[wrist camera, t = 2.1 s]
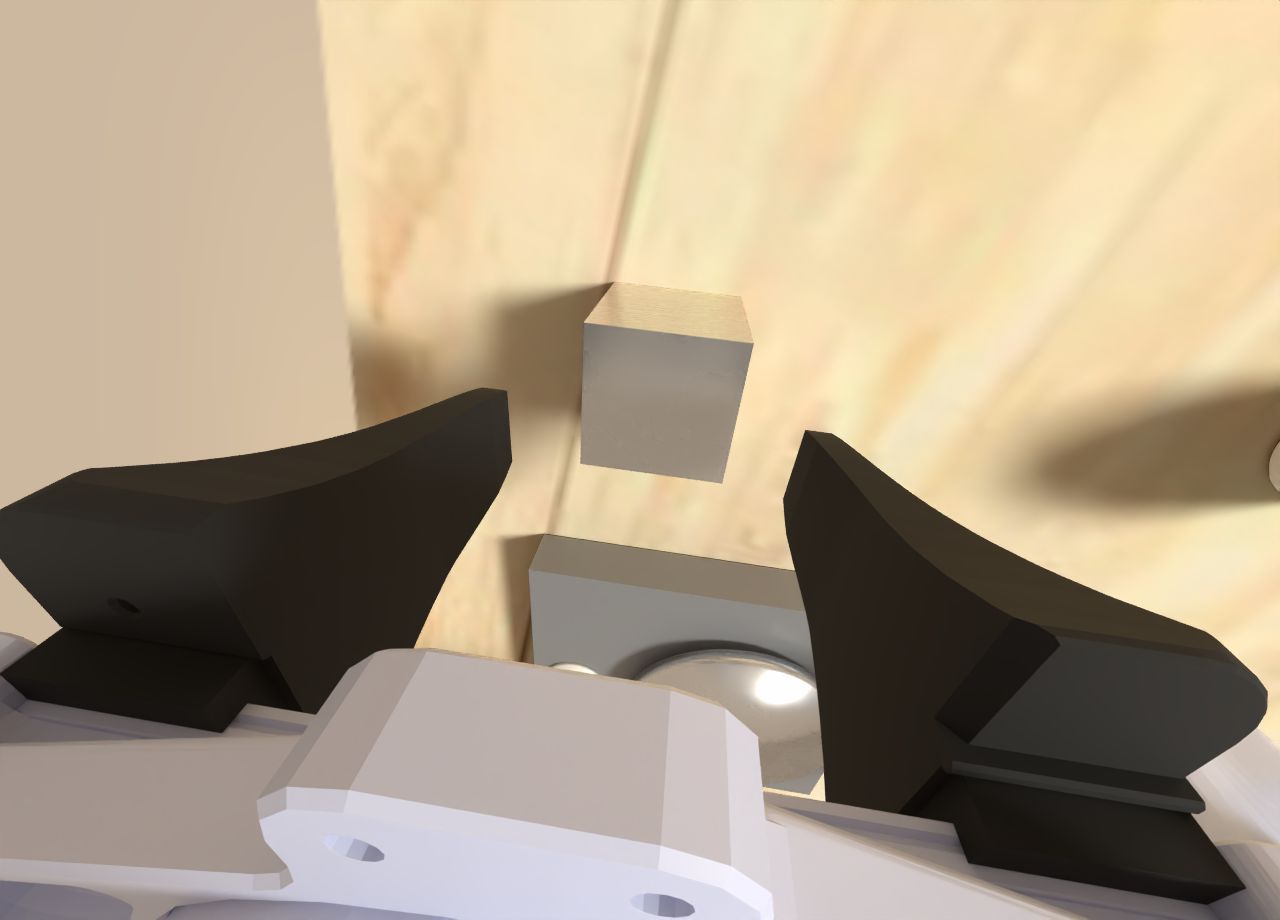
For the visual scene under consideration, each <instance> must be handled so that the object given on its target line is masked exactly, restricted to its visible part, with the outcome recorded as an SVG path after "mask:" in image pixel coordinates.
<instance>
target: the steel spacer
mask: <svg viewBox="0 0 1280 920" xmlns="http://www.w3.org/2000/svg"><path fill="white" fill-rule="evenodd" d="M753 344H754V343H753V339H752V335H751V332H750V328H749V324H748V320H747V317H746V313H745V309H744V306H743V302H742V298H741V297H737V296H729V295H721V294H712V293H704V292H695V291H687V290H678V289H670V288H662V287H653V286H645V285H636V284H628V283H619V282H614V283H613V285H612V286H611V287H610V289H609V290H608V291H607V292H606V294H605V295H604V296H603V298H602V299H601V300H600V302H599V303H598V304H597V306H596V307H595V308H594V309H593V311H592V312H591V313H590V315H589V316H588V317H587V319H586V320H585V321H584V325H583V370H582V416H581V462H580V464H587V465H594V466H601V467H608V468H615V469H622V470H630V471H637V472H644V473H651V474H658V475H665V476H673V477H680V478H687V479H694V480H701V481H708V482H716V483H722V482H723V477H724V473H725V468H726V464H727V460H728V455H729V451H730V446H731V442H732V437H733V433H734V429H735V424H736V420H737V415H738V411H739V406H740V402H741V397H742V393H743V389H744V384H745V380H746V375H747V371H748V366H749V362H750V358H751V353H752V349H753Z"/></svg>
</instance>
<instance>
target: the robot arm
mask: <svg viewBox="0 0 1280 920" xmlns="http://www.w3.org/2000/svg"><path fill="white" fill-rule="evenodd" d="M511 463H512V452H511V438H510V425H509V412H508V398H507V391H504V390H497V389H489V388H479V389H475V390H471V391H468V392H465V393H462V394H460V395H457V396H454V397H452V398H449V399H446V400H444V401H441V402H439V403H436V404H433V405H431V406H428V407H426V408H423V409H420V410H418V411H415V412H413V413H410V414H407V415H404V416H401V417H398V418H395V419H392V420H390V421H387V422H384V423H381V424H378V425H375V426H372V427H369V428H366V429H362V430H359V431H355V432H352V433H348V434H344V435H340V436H337V437H333V438H329V439H325V440H321V441H317V442H312V443H306V444H301V445H297V446H291V447H286V448H281V449H275V450H270V451H265V452H259V453H253V454H246V455H239V456H231V457H224V458H215V459H207V460H198V461H188V462H178V463H166V464H151V465H137V466H124V467H108V468H90V469H86V470H82V471H79V472H76V473H73V474H71V475H69V476H67V477H65V478H63V479H61V480H59V481H57V482H55V483H53V484H51V485H49V486H47V487H44V488H43V489H40V490H39V491H37V492H34V493H33V494H31V495H28V496H26V497H24V498H22V499H21V500H18V501H16V502H14V503H12V504H10V505H8V506H6V507H4V508H2V509H1V510H0V559H1V560H2V562H3V563H4V564H5V566H6V567H7V568H8V569H9V571H10V572H11V573H12V574H13V575H14V576H15V577H16V579H17V580H18V581H19V582H20V583H21V584H22V585H23V586H24V587H25V588H26V589H27V591H28V592H29V593H30V594H31V595H32V596H33V597H34V598H35V599H36V600H37V601H38V602H39V604H40V605H41V606H42V607H43V608H44V609H45V610H46V611H47V612H48V613H49V614H50V616H52V618H53V619H54V620H55V621H56V622H57V623H58V624H59V625H60V626H61V627H63V628H62V629H60V630H59V631H57V632H56V633H55V634H53V635H52V636H51V637H49V638H48V639H46V640H45V641H44V642H42V643H41V644H40V645H37V644H35V643H34V642H32V641H29V640H28V639H25V638H24V637H21V636H18V635H14V634H11V633H5V632H0V920H1280V749H1279V748H1278V747H1277V746H1276V745H1275V744H1274V743H1273V742H1272V741H1271V740H1270V739H1269V738H1268V737H1267V736H1266V735H1265V734H1264V733H1263V732H1262V731H1261V730H1260V729H1259V727H1258V725H1259V723H1260V722H1261V720H1262V719H1263V717H1264V715H1265V714H1266V710H1267V698H1268V691H1267V690H1266V688H1265V687H1264V686H1263V684H1262V683H1261V682H1260V680H1259V679H1258V677H1257V676H1256V675H1255V674H1253V673H1252V672H1251V671H1250V670H1249V669H1248V668H1247V667H1246V666H1245V665H1244V664H1243V663H1242V662H1241V661H1240V660H1239V659H1237V658H1236V657H1235V656H1234V655H1233V654H1232V653H1231V652H1230V651H1229V650H1228V649H1227V648H1226V647H1225V646H1224V645H1222V644H1221V643H1220V642H1219V641H1218V640H1217V639H1215V638H1214V637H1213V636H1212V635H1210V634H1209V633H1207V632H1205V631H1203V630H1200V629H1197V628H1194V627H1192V626H1189V625H1186V624H1183V623H1181V622H1178V621H1175V620H1173V619H1170V618H1167V617H1164V616H1162V615H1159V614H1156V613H1153V612H1151V611H1148V610H1145V609H1142V608H1140V607H1137V606H1134V605H1132V604H1129V603H1126V602H1123V601H1121V600H1118V599H1115V598H1113V597H1110V596H1108V595H1105V594H1103V593H1100V592H1098V591H1096V590H1093V589H1091V588H1089V587H1086V586H1084V585H1081V584H1079V583H1077V582H1074V581H1072V580H1070V579H1067V578H1065V577H1062V576H1060V575H1058V574H1056V573H1054V572H1051V571H1049V570H1047V569H1045V568H1043V567H1040V566H1038V565H1036V564H1034V563H1032V562H1030V561H1028V560H1026V559H1024V558H1022V557H1020V556H1018V555H1016V554H1014V553H1012V552H1010V551H1008V550H1006V549H1004V548H1002V547H1000V546H998V545H996V544H994V543H992V542H990V541H988V540H986V539H985V538H983V537H981V536H979V535H977V534H975V533H974V532H972V531H970V530H969V529H967V528H965V527H963V526H962V525H960V524H958V523H957V522H955V521H953V520H952V519H950V518H948V517H947V516H945V515H943V514H942V513H940V512H939V511H937V510H936V509H934V508H932V507H931V506H929V505H928V504H927V503H925V502H924V501H922V500H921V499H919V498H918V497H916V496H915V495H914V494H912V493H911V492H909V491H908V490H906V489H905V488H904V487H902V486H901V485H900V484H898V483H897V482H896V481H894V480H893V479H892V478H890V477H889V476H888V475H886V474H885V473H884V472H882V471H881V470H880V469H879V468H877V467H876V466H875V465H874V464H872V463H871V462H870V461H868V460H867V459H866V458H865V457H863V456H862V455H861V454H860V453H858V452H857V451H856V450H855V449H853V448H852V447H851V446H849V445H848V444H847V443H845V442H844V441H843V440H841V439H840V438H838V437H837V436H835V435H833V434H832V433H824V432H816V431H809V430H805V433H804V436H803V439H802V442H801V445H800V448H799V451H798V454H797V458H796V461H795V464H794V467H793V470H792V473H791V476H790V479H789V482H788V485H787V489H786V492H785V495H784V498H783V504H784V517H785V527H786V535H787V539H788V543H789V548H790V552H791V556H792V560H793V564H794V568H795V572H796V576H797V580H798V584H799V588H800V592H801V596H802V600H803V604H804V608H805V611H806V616H807V621H808V626H809V631H810V639H811V647H812V654H813V662H814V669H815V678H816V688H817V697H818V706H819V716H820V728H821V741H822V753H823V765H824V781H825V799H826V802H824V801H818V800H812V799H807V798H801V797H795V796H789V795H783V794H777V793H771V792H765V791H763V788H762V778H761V767H760V756H759V745H758V736H757V735H755V734H754V733H753V732H752V731H751V730H750V729H749V728H747V727H746V726H745V725H744V724H743V723H742V722H741V721H739V720H738V719H737V718H736V717H735V716H734V715H733V714H731V713H730V712H729V711H728V710H727V709H726V708H724V707H723V706H722V705H721V704H720V703H718V702H717V701H714V700H711V699H708V698H705V697H701V696H698V695H695V694H692V693H689V692H686V691H683V690H680V689H677V688H674V687H671V686H665V685H659V684H653V683H647V682H640V681H634V680H628V679H622V678H616V677H609V676H603V675H597V674H591V673H584V672H578V671H572V670H566V669H560V668H553V667H547V666H541V665H535V664H528V663H522V662H516V661H510V660H504V659H497V658H491V657H485V656H479V655H472V654H466V653H460V652H454V651H448V650H441V649H435V648H422V649H413V648H414V646H415V644H416V642H417V639H418V637H419V635H420V633H421V630H422V628H423V626H424V624H425V622H426V619H427V617H428V615H429V613H430V610H431V608H432V606H433V604H434V602H435V600H436V598H437V596H438V594H439V592H440V590H441V588H442V586H443V584H444V582H445V579H446V577H447V575H448V574H449V572H450V570H451V568H452V567H453V565H454V563H455V561H456V560H457V558H458V557H459V555H460V553H461V552H462V550H463V549H464V547H465V546H466V544H467V542H468V541H469V539H470V538H471V536H472V535H473V533H474V531H475V530H476V528H477V527H478V525H479V524H480V522H481V520H482V519H483V517H484V516H485V514H486V513H487V511H488V509H489V508H490V506H491V505H492V503H493V501H494V500H495V498H496V496H497V495H498V493H499V491H500V489H501V487H502V484H503V482H504V480H505V478H506V475H507V473H508V470H509V468H510V465H511Z"/></svg>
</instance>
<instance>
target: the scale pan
mask: <svg viewBox="0 0 1280 920" xmlns="http://www.w3.org/2000/svg"><path fill="white" fill-rule="evenodd" d="M633 680H634V681H640V682H647V683H653V684H659V685H665V686H671V687H674V688H677V689H680V690H683V691H686V692H689V693H692V694H695V695H698V696H701V697H705V698H708V699H711V700H714V701H717V702H718V703H720V704H721V705H722V706H723V707H724V708H726V709H727V710H728V711H729V712H730V713H731V714H733V715H734V716H735V717H736V718H737V719H738V720H739V721H741V722H742V723H743V724H744V725H745V726H746V727H747V728H749V729H750V730H751V731H752V732H753V733H754V734H755V735H757V736H758V745H759V756H760V767H761V778H762V784H771V783H778V782H783V781H788V780H791V779H795V778H799V777H801V776H804V775H807V774H809V773H811V772H813V771H815V770H817V769H819V768H821V767H822V766H824V765H823V753H822V741H821V728H820V716H819V706H818V697H817V688H816V678H815V675H814V674H812V673H811V672H809V671H808V670H806V669H804V668H802V667H800V666H798V665H796V664H794V663H791V662H789V661H786V660H784V659H781V658H777V657H774V656H771V655H767V654H762V653H757V652H752V651H744V650H734V649H710V650H699V651H691V652H686V653H682V654H678V655H674V656H671V657H668V658H665V659H662V660H660V661H658V662H656V663H654V664H652V665H650V666H649V667H647V668H646V669H644V670H643V671H642V672H640V673H639V674H638V675H637V676H636V677H635V678H634V679H633Z"/></svg>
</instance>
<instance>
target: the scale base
mask: <svg viewBox="0 0 1280 920" xmlns="http://www.w3.org/2000/svg"><path fill="white" fill-rule="evenodd" d="M528 570H529V587H530V604H531V620H532V637H533V654H534V664H535V665H541V666H547V667H553V668H560V669H566V670H572V671H578V672H584V673H591V674H597V675H603V676H609V677H616V678H622V679H628V680H633V679H634V678H635V677H636V676H637V675H638V674H639V673H640V672H642V671H643V670H644V669H646V668H647V667H649V666H650V665H652V664H654V663H656V662H658V661H660V660H662V659H665V658H668V657H671V656H674V655H678V654H682V653H686V652H691V651H699V650H710V649H734V650H744V651H752V652H757V653H762V654H767V655H771V656H774V657H777V658H781V659H784V660H786V661H789V662H791V663H794V664H796V665H798V666H800V667H802V668H804V669H806V670H808V671H809V672H811V673H812V674H814V675H815V669H814V662H813V654H812V647H811V639H810V631H809V626H808V621H807V616H806V611H805V608H804V604H803V600H802V596H801V592H800V588H799V584H798V580H797V576H796V572H795V571H790V570H783V569H776V568H770V567H763V566H756V565H749V564H743V563H736V562H729V561H722V560H716V559H709V558H702V557H696V556H689V555H682V554H675V553H669V552H662V551H655V550H648V549H642V548H635V547H628V546H621V545H615V544H608V543H601V542H594V541H588V540H581V539H574V538H568V537H561V536H554V535H547V534H544V535H543V537H542V540H541V542H540V544H539V547H538V549H537V551H536V553H535V556H534V558H533V560H532V563H531V565H530V567H529V569H528ZM823 772H824V766H822V767H821V768H819V769H817V770H815V771H813V772H811V773H809V774H807V775H804V776H801V777H799V778H795V779H791V780H788V781H783V782H778V783H771V784H762V787H767V788H773V789H779V790H785V791H790V792H796V793H802V794H808V795H809V794H810V793H811V791H812V790H813V788H814V786H815V785H816V783H817V782H818V780H819V779H820V777H821V775H822V774H823Z"/></svg>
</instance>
